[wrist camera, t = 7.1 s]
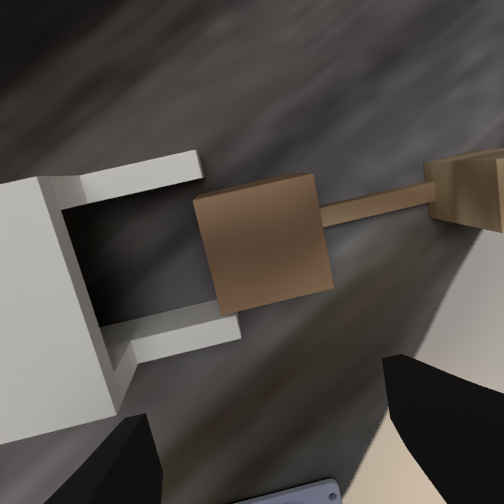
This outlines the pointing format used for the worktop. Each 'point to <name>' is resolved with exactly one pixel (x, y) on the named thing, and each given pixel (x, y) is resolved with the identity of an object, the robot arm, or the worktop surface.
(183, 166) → the cubby lane
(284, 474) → the worktop surface
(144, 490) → the robot arm
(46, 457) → the worktop surface
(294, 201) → the tethered block
